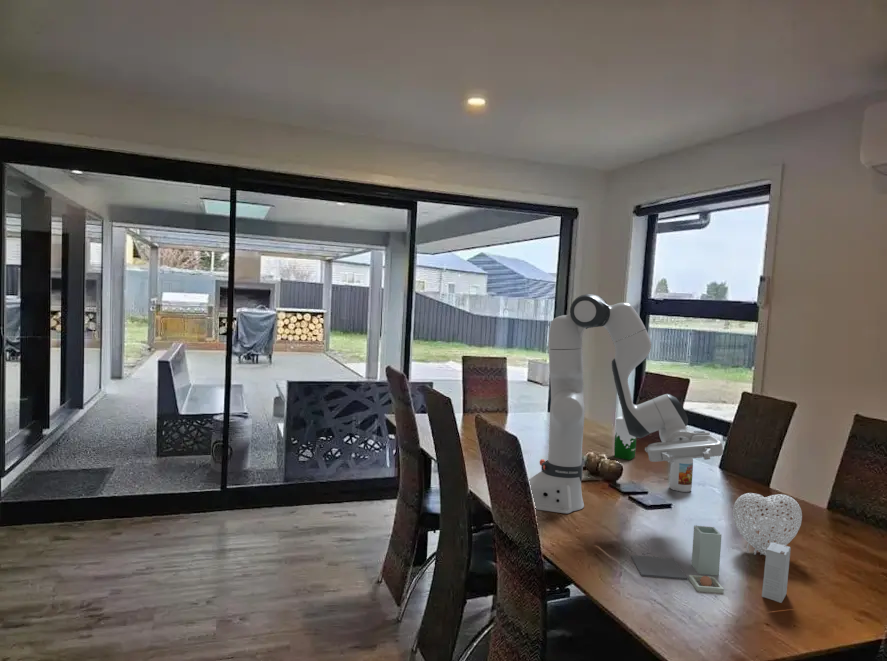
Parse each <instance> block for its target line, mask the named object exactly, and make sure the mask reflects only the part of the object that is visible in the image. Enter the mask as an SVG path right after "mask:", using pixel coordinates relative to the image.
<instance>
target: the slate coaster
mask: <svg viewBox="0 0 887 661" xmlns="http://www.w3.org/2000/svg"><path fill="white" fill-rule="evenodd" d="M630 557H631V559H632V561H633V563H634V565H635V566H636V568H637V571H638V572H639V574H640V576H641V577H647V578H649V577H650V578H660V579H669V580H670V579H672V580H685V581H688V576H687V575H686V573H685V572H684V571H683V570H682V568H681V566H680V565H679V564H678V563H677V561H676V560H675V558H674V557H673V558H672V557H664V556H663V557H661V556H652V555H651V556H650V555H649V556H648V555H638V554H637V555H636V554H631V556H630Z"/></svg>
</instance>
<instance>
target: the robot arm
mask: <svg viewBox="0 0 887 661" xmlns="http://www.w3.org/2000/svg"><path fill="white" fill-rule="evenodd" d="M598 327H600V328H601V327H602V328H604V329H605V330H606V331H607V333H608V334H609V336H610V337H609V338H610V339H611V342H612V343H613V346H614V350H615V351H614V358H613V359H612V360H611V370H612V375H613V380H614V384H615V387H616V388H615V389H616V392H617V396H618V401H619V403H620V406H621V412H622V413H621V414H622V415H621V416H623V423H624V426H625V429H626V431H627V432H628V433H629V435H631V436H634V437H636V439H642V438H644V437H646V436H649V435H650V434H652V433H655V432H657V431H658V434H659V439H660V441H661V442H652V443H649V444H648V445H647V446H645V447H644V451H645V452H646V453H647V456H648V460H649V461H650V462H653V463H655V462H668V464H671V463H673V462H674V460H685V459H691V458H693V459H701V458H703V460H705V461H706V460H707V461H708V460H711V458H712V457H721V456H723V455H724V448H723V443H722V442H721V440H720V439H718V438H717V437H716V436H715V435H714V436H713V435H712V434H710V433H711V432H710V431H709V430H693V429H692V430H691V429H688V428H687V425H688V422H689V418H688V415H687V413H686V410H685V409H684V407H683V405H682V404H681V402H680V401H679V399H678V398H677V397H676V396H674V395H672V394H670V393H665V394H662V395H659V396H657V397H654V398H652V399H649V400H647V401H646V400H645V401H644V402H641V403H638V404H635V403H633V402H634V401H633V399H632V398H633V397H632V394H631V390H630V385H629V377H630V375H631V373H632V372H633V371H634V369H635V368H637V367H638V366H639V365H640V364H641V363H643V362H644V360H645V359H646V358H647V357H648V356H649V354H650V351H651V349H652V342H651V338H650V334H649V333H648V330H647V329H646V326H645V324H644V322H643V320H642V319H641V317H640V315H639V314H638V312H637V311H636V309H635V308H634V307H633V305H632V304H631V303H628V302H618V303H615V304H611V305H610V304H608V303H607V301H606V300H605V299H604V298H603V297H602V296H600V295H598V294H594V293H586V294H582V295H579V296H577V297H576V298H575V299H574V300H573V301H572V302H571V303H570V307H569V313H568V314H563V315H559V316H556V317H554V318H553V319H552V320H551V323H550V326H549V332H548V361H549V380H550V399H551V400H550V408H549V410H550V411H549V432H548V437H549V438H548V453H547V454H548V456H547V460H545V459H544V458H543V459H542V458H541V459H540V460H539V465H540V466H541V467H540V468H541V471H540V472H538V473H536V474H535V475H533V476H532V477H530V478H528V479H529V481H530V485H531V490H532V494H533V498H534V502H535V506H536V509H535V510H539V511H545V512H553V513H561V514H571V513H572V512H575V511H580V510H582V509H583V508H585V504H584V500H583V495H582V494H583V492H582V480H583V471H584V468H583V464H582V463H583V462H582V456H583V441H584V440H583V439H584V427H585V415H586V414H585V413H586V411H585V410H586V407H585V395H584V394H585V393H584V359H583V358H584V355H583V334H584V331H585V330H587V329H591V328H598Z"/></svg>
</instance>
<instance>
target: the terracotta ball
mask: <svg viewBox="0 0 887 661" xmlns="http://www.w3.org/2000/svg"><path fill="white" fill-rule="evenodd" d="M702 576H703V577H701V579H700V581H699V582H700V586H709V587H712V584H713V582H712V580H711V579H710V578H709V577H708V575H702Z"/></svg>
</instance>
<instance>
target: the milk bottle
mask: <svg viewBox="0 0 887 661" xmlns="http://www.w3.org/2000/svg"><path fill="white" fill-rule="evenodd" d="M693 468H694V458H691V459H685V460H674V462H673V463H670V470H669V471H670V472H669V489H671V490H673V491H675V492H680V493H688V492H689V493H690V492H691V491H692V487H693V486H692V485H693V475H694V474H693V473H694V472H693V470H694V469H693Z"/></svg>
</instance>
